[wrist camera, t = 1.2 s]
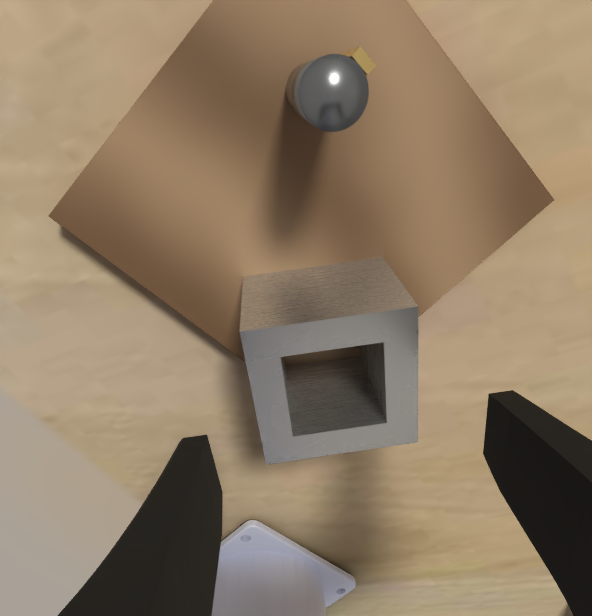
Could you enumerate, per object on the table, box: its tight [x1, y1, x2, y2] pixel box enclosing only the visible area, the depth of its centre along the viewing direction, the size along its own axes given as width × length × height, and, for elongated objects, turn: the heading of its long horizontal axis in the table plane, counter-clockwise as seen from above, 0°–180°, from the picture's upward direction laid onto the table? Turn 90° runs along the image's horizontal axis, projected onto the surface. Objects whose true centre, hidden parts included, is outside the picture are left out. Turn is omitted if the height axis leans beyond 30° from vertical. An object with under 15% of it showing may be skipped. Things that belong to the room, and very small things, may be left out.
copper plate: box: [49, 0, 554, 366], centre depth 16 cm, size 12×12×1 cm
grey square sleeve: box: [240, 257, 418, 464], centre depth 16 cm, size 5×5×4 cm
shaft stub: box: [286, 46, 376, 132], centre depth 12 cm, size 2×2×4 cm
